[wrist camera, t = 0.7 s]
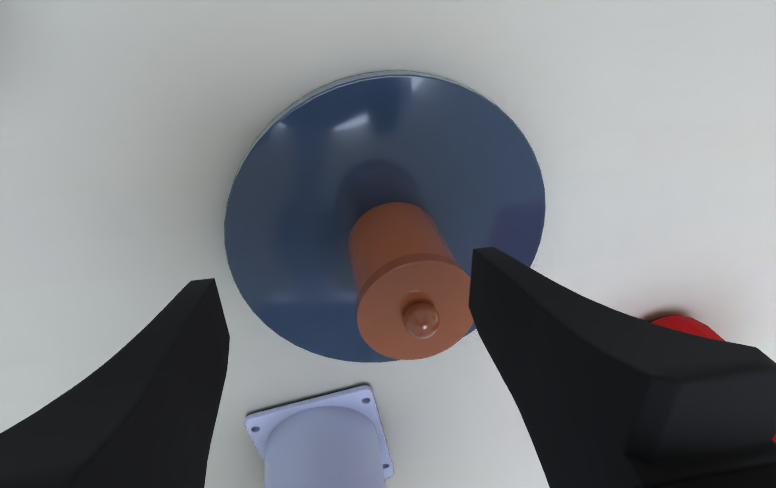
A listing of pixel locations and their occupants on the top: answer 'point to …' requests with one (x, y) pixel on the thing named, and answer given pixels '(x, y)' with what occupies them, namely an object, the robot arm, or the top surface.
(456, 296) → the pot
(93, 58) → the top surface
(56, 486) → the robot arm
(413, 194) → the plate
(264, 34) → the top surface
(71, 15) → the top surface
